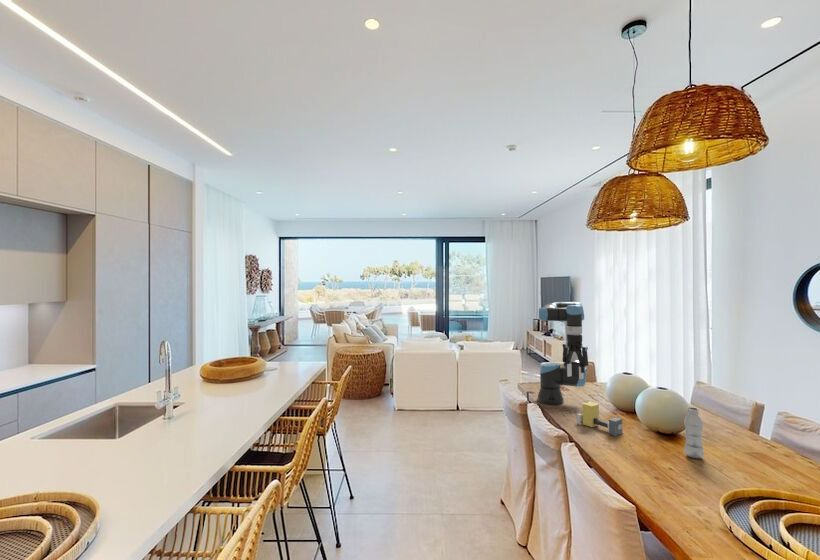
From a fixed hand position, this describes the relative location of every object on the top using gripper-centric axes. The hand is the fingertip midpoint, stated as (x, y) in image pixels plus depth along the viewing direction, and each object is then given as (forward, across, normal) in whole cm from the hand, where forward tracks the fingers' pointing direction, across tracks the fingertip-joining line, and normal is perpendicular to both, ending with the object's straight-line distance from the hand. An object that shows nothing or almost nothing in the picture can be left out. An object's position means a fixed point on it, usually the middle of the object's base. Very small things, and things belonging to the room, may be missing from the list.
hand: (575, 377), depth 202 cm
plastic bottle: (+23, +53, +3) cm, 58 cm away
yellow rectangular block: (+23, +8, 0) cm, 24 cm away
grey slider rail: (+23, +13, 0) cm, 26 cm away
